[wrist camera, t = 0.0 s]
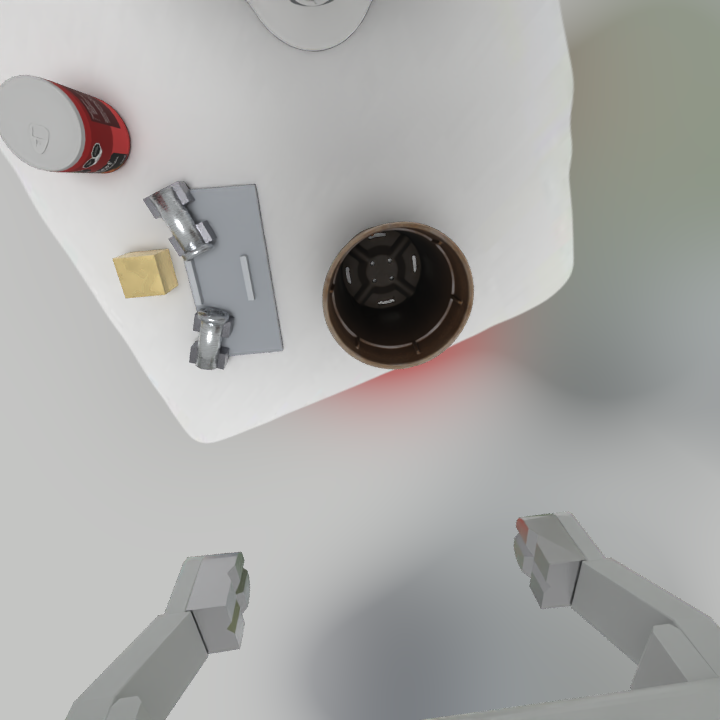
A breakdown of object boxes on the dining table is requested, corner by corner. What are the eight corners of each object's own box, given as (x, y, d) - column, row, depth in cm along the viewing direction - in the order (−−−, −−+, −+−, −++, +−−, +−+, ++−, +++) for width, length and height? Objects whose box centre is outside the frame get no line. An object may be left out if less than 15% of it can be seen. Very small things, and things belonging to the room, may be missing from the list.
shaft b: (227, 362, 59) (220, 375, 55) (194, 355, 58) (184, 368, 54) (235, 311, 56) (228, 321, 52) (200, 303, 55) (191, 313, 51)
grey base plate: (168, 191, 50) (162, 191, 48) (255, 184, 50) (252, 184, 48) (210, 355, 59) (206, 361, 57) (283, 348, 60) (281, 353, 58)
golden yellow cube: (130, 252, 53) (112, 258, 48) (168, 248, 53) (153, 255, 48) (142, 288, 55) (125, 298, 50) (178, 285, 55) (165, 294, 50)
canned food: (73, 172, 48) (8, 170, 38) (55, 95, 45) (-23, 70, 35) (138, 174, 49) (91, 173, 39) (125, 99, 46) (69, 76, 36)
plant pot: (345, 337, 60) (351, 388, 46) (305, 234, 53) (298, 254, 39) (446, 303, 59) (486, 343, 45) (419, 193, 52) (456, 197, 38)
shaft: (151, 198, 49) (135, 200, 45) (184, 181, 49) (171, 181, 45) (189, 258, 52) (178, 265, 48) (220, 243, 52) (211, 248, 48)
